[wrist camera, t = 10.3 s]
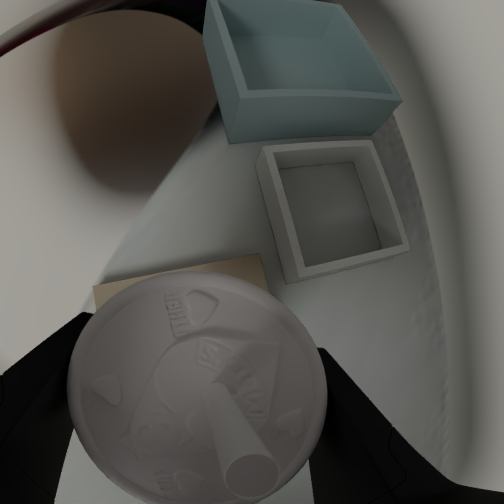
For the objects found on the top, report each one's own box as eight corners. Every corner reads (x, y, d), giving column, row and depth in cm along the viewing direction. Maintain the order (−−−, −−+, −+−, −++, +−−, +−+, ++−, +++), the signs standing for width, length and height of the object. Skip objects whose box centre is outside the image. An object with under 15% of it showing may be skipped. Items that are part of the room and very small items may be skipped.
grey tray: (390, 258, 22) (410, 250, 19) (286, 284, 20) (299, 278, 17) (356, 155, 23) (371, 139, 21) (254, 165, 21) (262, 146, 19)
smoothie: (278, 372, 16) (503, 454, 3) (184, 441, 14) (189, 664, 1) (206, 277, 17) (264, 92, 3) (109, 346, 15) (-108, 375, 2)
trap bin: (371, 135, 24) (402, 101, 19) (228, 144, 21) (240, 98, 16) (322, 40, 26) (340, 5, 21) (202, 38, 23) (207, -5, 19)
